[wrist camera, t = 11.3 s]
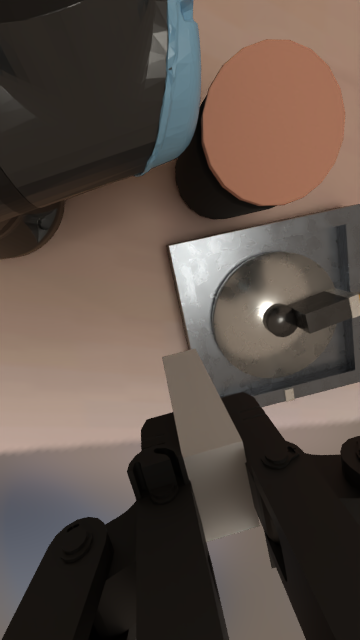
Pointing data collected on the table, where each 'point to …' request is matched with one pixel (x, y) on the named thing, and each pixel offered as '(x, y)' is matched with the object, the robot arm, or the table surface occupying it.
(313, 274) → the dial
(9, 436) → the table surface
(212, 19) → the table surface
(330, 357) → the grey square tray
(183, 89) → the robot arm
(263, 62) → the coffee jar
